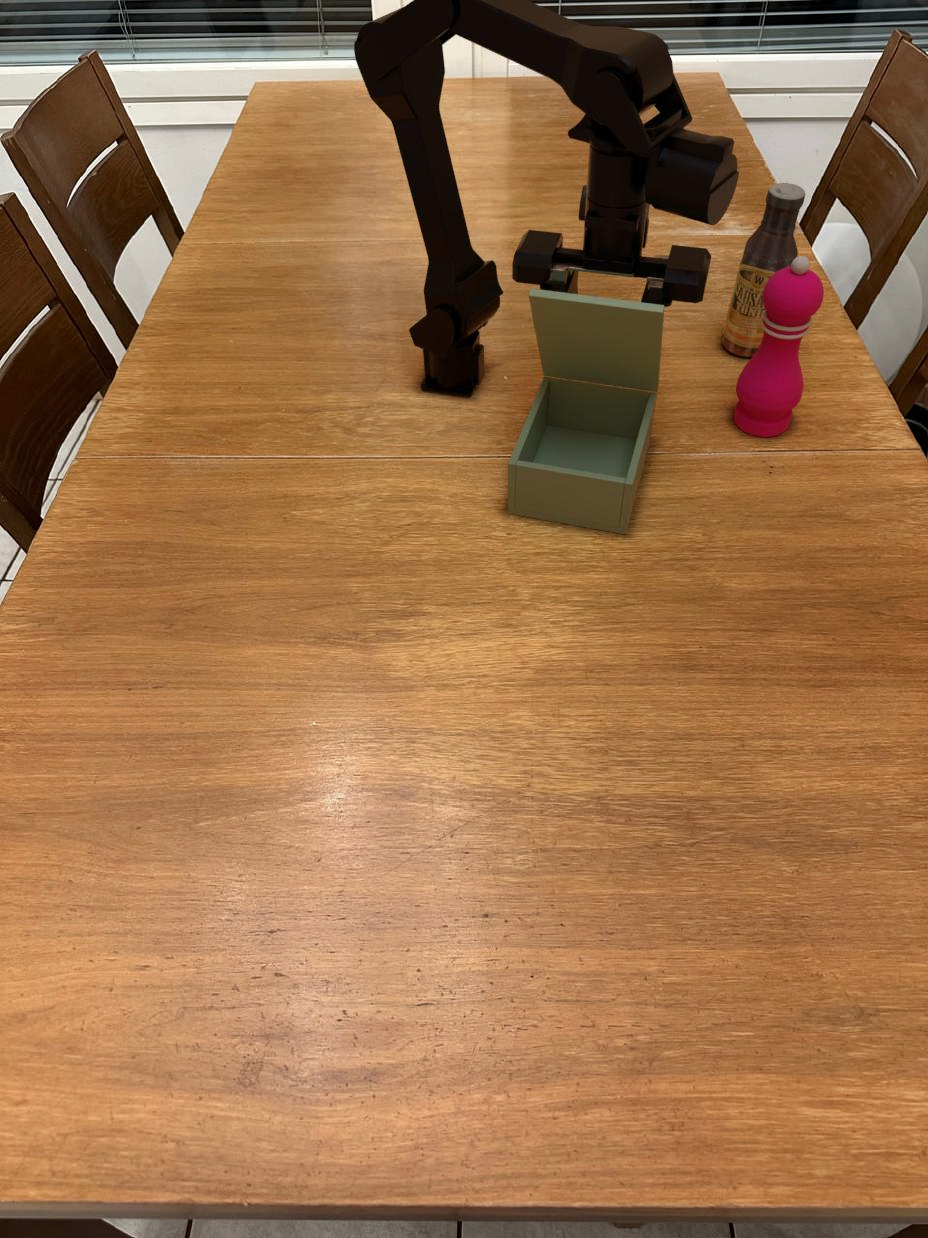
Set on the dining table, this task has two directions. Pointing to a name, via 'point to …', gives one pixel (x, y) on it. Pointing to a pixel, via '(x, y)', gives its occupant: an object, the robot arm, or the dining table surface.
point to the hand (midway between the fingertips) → (604, 340)
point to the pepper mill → (778, 351)
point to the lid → (598, 339)
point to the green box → (581, 454)
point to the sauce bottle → (762, 268)
